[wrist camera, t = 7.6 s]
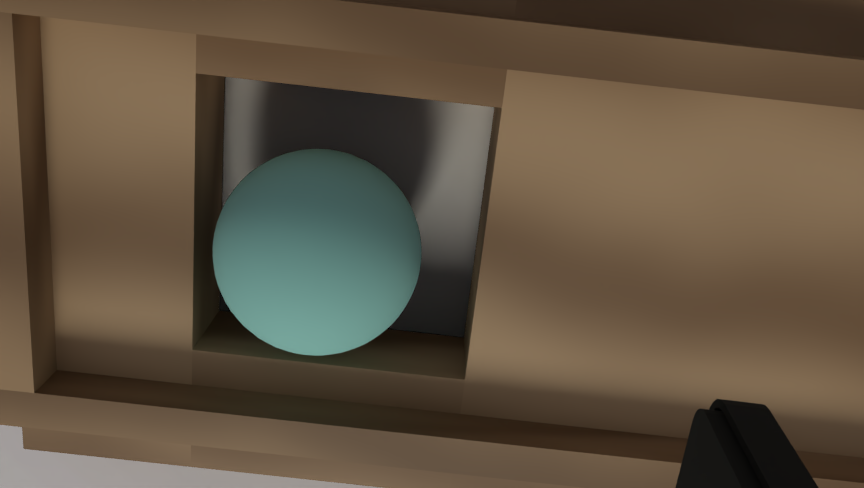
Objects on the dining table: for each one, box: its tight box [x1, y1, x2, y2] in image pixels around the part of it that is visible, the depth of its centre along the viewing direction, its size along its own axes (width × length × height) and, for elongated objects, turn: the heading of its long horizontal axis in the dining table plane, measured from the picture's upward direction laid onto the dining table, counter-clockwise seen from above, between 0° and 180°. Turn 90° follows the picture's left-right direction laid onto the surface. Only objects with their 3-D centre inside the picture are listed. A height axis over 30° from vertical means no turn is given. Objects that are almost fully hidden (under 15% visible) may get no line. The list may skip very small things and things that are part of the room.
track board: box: [0, 0, 864, 488], centre depth 20 cm, size 14×26×4 cm, turn 84°
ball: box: [213, 149, 421, 356], centre depth 20 cm, size 5×5×5 cm
